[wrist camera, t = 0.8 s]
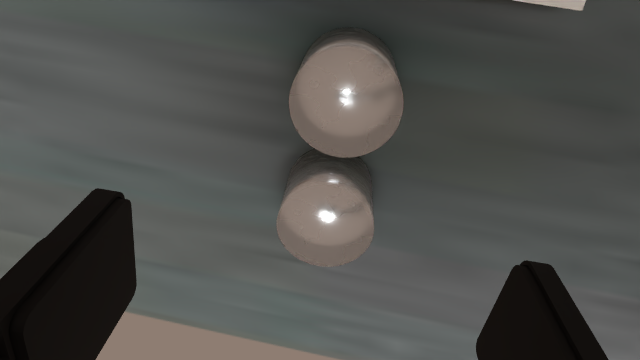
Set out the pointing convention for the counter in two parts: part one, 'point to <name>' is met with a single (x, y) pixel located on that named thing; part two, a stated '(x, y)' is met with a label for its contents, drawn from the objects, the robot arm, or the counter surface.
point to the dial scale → (559, 3)
